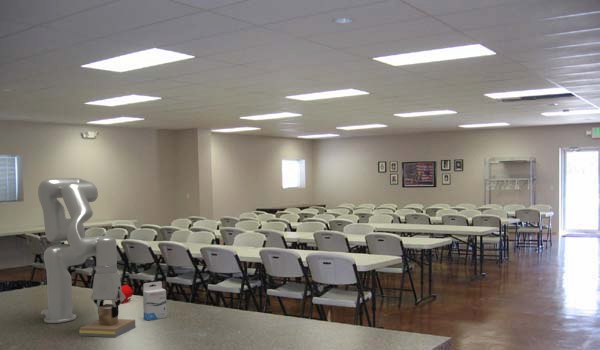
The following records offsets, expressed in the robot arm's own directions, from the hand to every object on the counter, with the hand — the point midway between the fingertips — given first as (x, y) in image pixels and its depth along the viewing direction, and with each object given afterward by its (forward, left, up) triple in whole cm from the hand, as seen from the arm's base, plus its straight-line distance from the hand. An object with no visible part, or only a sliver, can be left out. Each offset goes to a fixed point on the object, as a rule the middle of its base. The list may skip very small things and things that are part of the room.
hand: (108, 316), depth 216 cm
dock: (0, 0, -6) cm, 6 cm away
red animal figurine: (-24, +49, -6) cm, 55 cm away
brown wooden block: (0, 0, -3) cm, 3 cm away
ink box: (+8, +22, -6) cm, 24 cm away
